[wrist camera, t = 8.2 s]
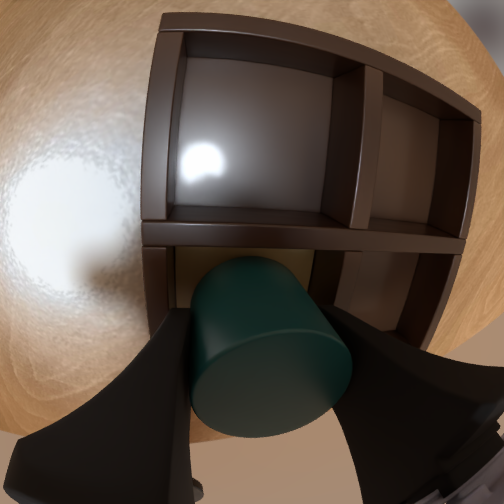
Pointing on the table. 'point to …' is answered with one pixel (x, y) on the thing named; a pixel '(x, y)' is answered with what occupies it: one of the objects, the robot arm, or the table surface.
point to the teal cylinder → (261, 351)
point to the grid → (304, 169)
